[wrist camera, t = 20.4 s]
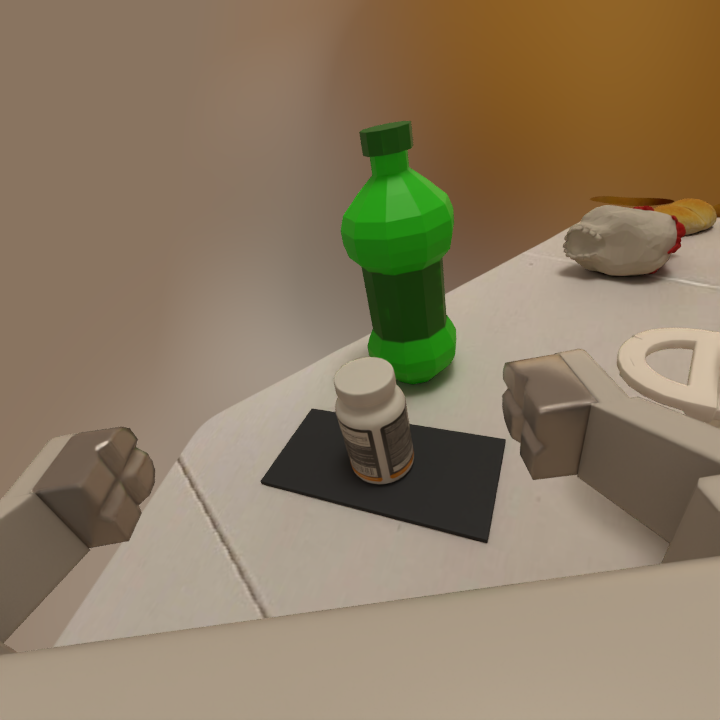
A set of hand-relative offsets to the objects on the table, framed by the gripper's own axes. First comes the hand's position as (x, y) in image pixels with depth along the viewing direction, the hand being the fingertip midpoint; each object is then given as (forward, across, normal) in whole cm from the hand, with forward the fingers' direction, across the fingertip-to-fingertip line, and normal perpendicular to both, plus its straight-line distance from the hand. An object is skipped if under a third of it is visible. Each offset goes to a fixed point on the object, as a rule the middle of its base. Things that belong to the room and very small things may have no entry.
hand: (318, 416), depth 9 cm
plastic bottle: (+32, -5, +23) cm, 39 cm away
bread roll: (+58, -52, +23) cm, 81 cm away
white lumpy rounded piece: (+47, -38, +23) cm, 65 cm away
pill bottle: (+18, 0, +23) cm, 29 cm away
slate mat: (+19, 0, +23) cm, 30 cm away
